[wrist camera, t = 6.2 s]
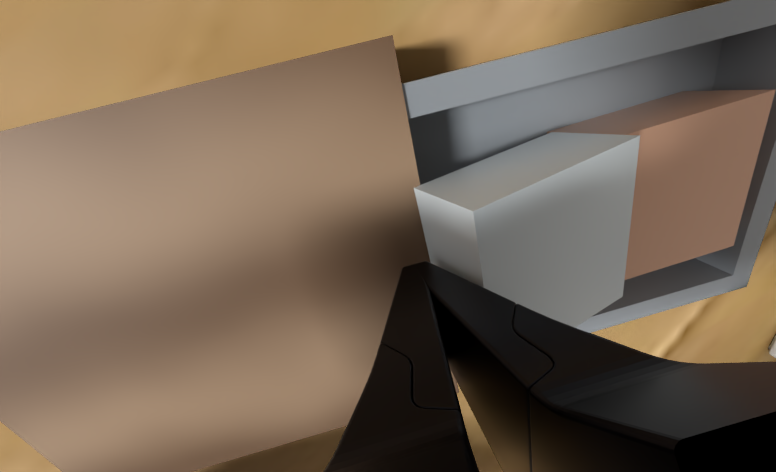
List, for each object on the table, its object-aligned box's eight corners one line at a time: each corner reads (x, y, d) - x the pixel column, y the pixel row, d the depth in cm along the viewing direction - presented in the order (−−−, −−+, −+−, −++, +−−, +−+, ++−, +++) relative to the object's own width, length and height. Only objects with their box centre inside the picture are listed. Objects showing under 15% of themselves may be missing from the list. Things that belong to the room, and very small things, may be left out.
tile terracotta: (664, 219, 13) (733, 245, 11) (550, 254, 13) (596, 288, 10) (683, 91, 11) (775, 89, 8) (547, 131, 11) (604, 141, 8)
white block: (554, 264, 12) (622, 296, 10) (444, 325, 10) (496, 378, 8) (551, 132, 10) (640, 135, 7) (413, 187, 8) (473, 211, 6)
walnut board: (439, 345, 14) (458, 392, 12) (136, 433, 14) (97, 500, 11) (378, 50, 9) (392, 35, 7) (-112, 172, 9) (-274, 198, 6)
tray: (684, 258, 14) (746, 286, 12) (436, 329, 14) (454, 372, 12) (743, -4, 10) (855, -31, 8) (386, 87, 10) (401, 84, 7)
